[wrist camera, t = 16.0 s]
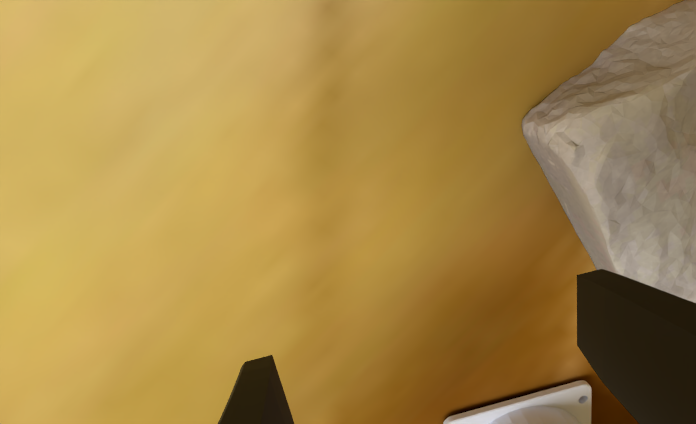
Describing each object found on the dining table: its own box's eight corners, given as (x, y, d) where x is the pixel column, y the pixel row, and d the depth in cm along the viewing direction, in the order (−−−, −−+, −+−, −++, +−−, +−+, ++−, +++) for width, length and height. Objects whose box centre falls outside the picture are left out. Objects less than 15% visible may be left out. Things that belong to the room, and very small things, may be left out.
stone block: (665, -28, 21) (491, 127, 20) (796, -49, 17) (581, 147, 16) (733, 178, 26) (596, 308, 25) (846, 203, 22) (685, 360, 21)
